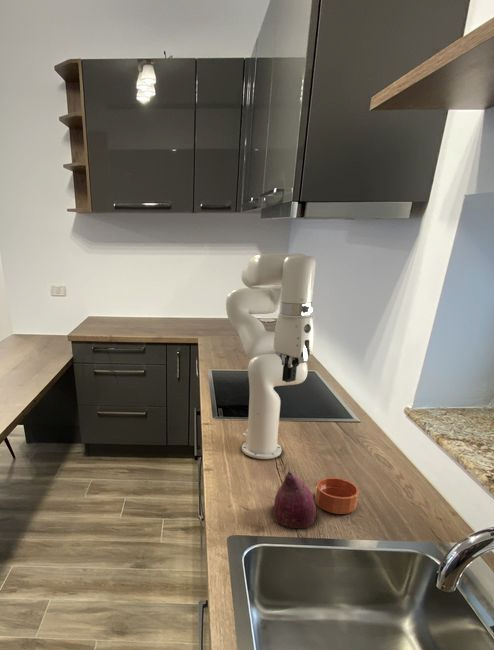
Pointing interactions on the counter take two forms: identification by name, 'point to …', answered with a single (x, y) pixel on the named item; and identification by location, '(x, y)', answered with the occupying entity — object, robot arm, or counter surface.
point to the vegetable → (294, 503)
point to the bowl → (336, 495)
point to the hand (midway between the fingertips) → (288, 380)
